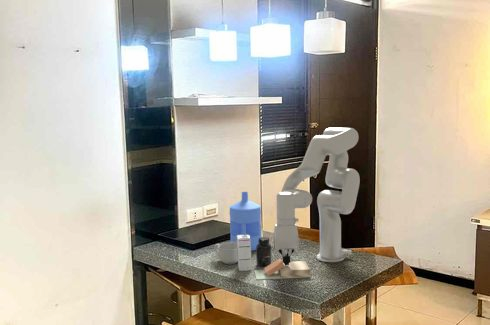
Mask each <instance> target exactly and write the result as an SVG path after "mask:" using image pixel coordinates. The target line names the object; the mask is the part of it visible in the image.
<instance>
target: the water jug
mask: <svg viewBox="0 0 490 325" xmlns="http://www.w3.org/2000/svg"><path fill="white" fill-rule="evenodd" d="M248 193H249V192H248V191H241V200H240V201H238V202H236V203H234V204H232V205H230V206H229V224H230V226H229V231H230V242H237V235H249V236H250V242H251V252H254V251H256V246H257V245H258V244H259V243H258V241H259V240H258V239H259V238H261V237H262V219H261V218H262V216H261V215H262V209H261V205H260V204H257V203H255V202H253V201H252V200H249V195H248Z"/></svg>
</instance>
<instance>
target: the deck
mask: <svg viewBox="0 0 490 325" xmlns="http://www.w3.org/2000/svg"><path fill="white" fill-rule="evenodd" d="M283 264H284V263H283ZM278 271H279V274H280V276H281V278H282V279H289V278H288V277H302V278H309V277H308V276H311V269H310V267H309V265H308V263H307V262H306V260H300V261H299V260H298V261H295V260H294V261H290V263H289V265H286V266H285V264H284V267H283V268H281V269H280V270H278Z"/></svg>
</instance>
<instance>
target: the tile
mask: <svg viewBox="0 0 490 325" xmlns="http://www.w3.org/2000/svg"><path fill="white" fill-rule="evenodd" d="M283 267H284V264H283V259H281V257H279V258H278V259H276V260H275V261H273V262H272V263H271V264H270V265H268V266H267V267H263V270H265V272H266V274H267V275H268V276H270V275H272V274H273V273H275V272H276V271H278V270H280V269H281V268H283Z"/></svg>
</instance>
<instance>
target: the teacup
mask: <svg viewBox="0 0 490 325" xmlns="http://www.w3.org/2000/svg"><path fill="white" fill-rule="evenodd" d="M213 249H214V252H215V253H216V254H217V255H218V258H219V260H220V261H221V262H222V263H223V264H225V265H234V264H238V250H237V242H231V241H227V242H222V243H215V244H214V246H213Z"/></svg>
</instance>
